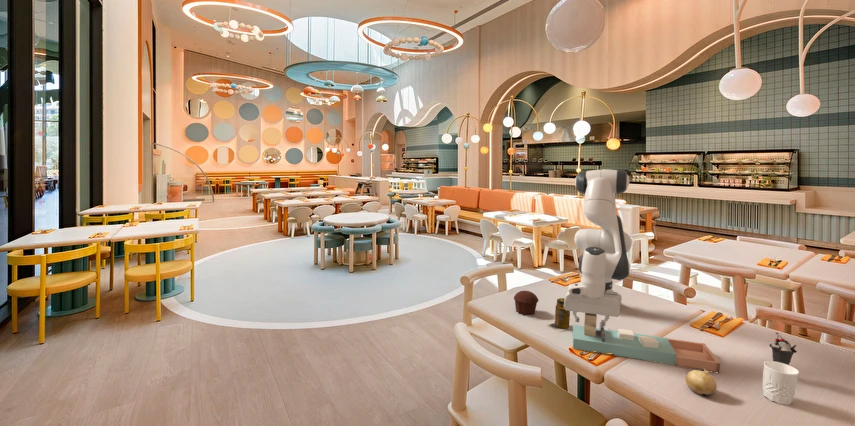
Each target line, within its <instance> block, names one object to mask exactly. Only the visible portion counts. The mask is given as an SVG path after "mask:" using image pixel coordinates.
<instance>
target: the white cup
mask: <svg viewBox="0 0 855 426" xmlns="http://www.w3.org/2000/svg"><path fill="white" fill-rule="evenodd" d="M762 371H763V372H762V392H761V393H762V396H763V395H764V396H766V397H767V398H769V399H770V400H772V401H775V402H777V403H776V404H778V403H781V404H780V405H783V404H790V405H792V404H793V403H794V402H793V401H794V396H795V394H796V389H797V385H798V380H799V376H800V371H799V369H797V368H795V367H794V366H791V365H790V364H789V365H787V364H784V363H780V362H775V361H773V360H767V361H766V360H765V361H763V366H762ZM764 396H763V397H764ZM767 398H766V399H767ZM770 400H769V401H770ZM772 401H771V402H772ZM775 402H774V403H775ZM791 403H792V404H791Z"/></svg>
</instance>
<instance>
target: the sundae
mask: <svg viewBox="0 0 855 426" xmlns="http://www.w3.org/2000/svg"><path fill="white" fill-rule="evenodd" d="M775 334H776V335H777V338H775V339H774V340H775V341H772V343H770V344H769V345H768V347H769V348H771V351H772V361H775V362H780V363H784V364H787V365H789V366H790V363H791V361H792V357H793V355H794V354H795V353H796V354H797V352H798V351H797V350H796V347H797V345H796V344H794V345H793V346H792V344H791V342H789V341H788V340H786V339H785V338H783V337H782V336H781V335H780V334H779V332H775ZM779 337H780V338H779Z"/></svg>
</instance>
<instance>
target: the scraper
mask: <svg viewBox="0 0 855 426" xmlns="http://www.w3.org/2000/svg"><path fill="white" fill-rule="evenodd" d="M597 316H598V314H590V313H584V324H583V326H584V335H588V336H594V337H595V336H600V337H601V340H602V342H605V331H604V329H605V326H601V321H600V322H599V328H600V330H596V328H597V319H598V317H597Z"/></svg>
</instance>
